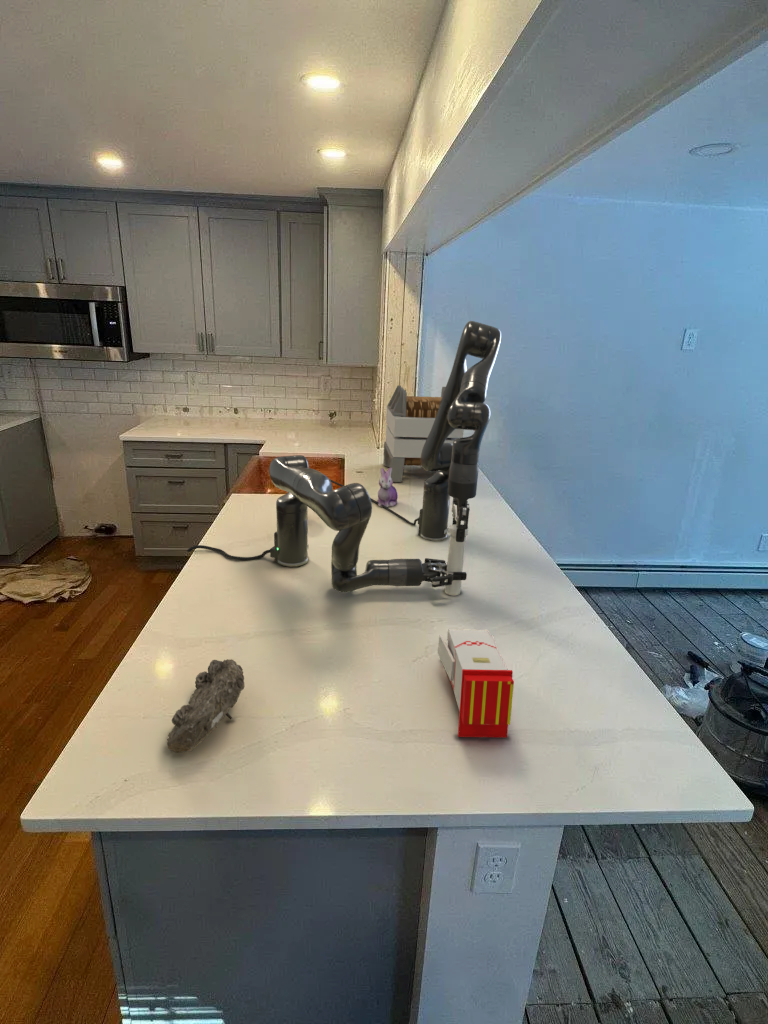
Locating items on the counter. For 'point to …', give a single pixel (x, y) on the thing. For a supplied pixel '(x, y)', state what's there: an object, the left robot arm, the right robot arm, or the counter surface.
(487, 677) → the toy
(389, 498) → the figurine
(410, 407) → the grey wooden box
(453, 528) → the lid
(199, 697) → the fossil
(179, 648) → the counter surface
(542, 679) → the counter surface
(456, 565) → the white cylindrical bottle
